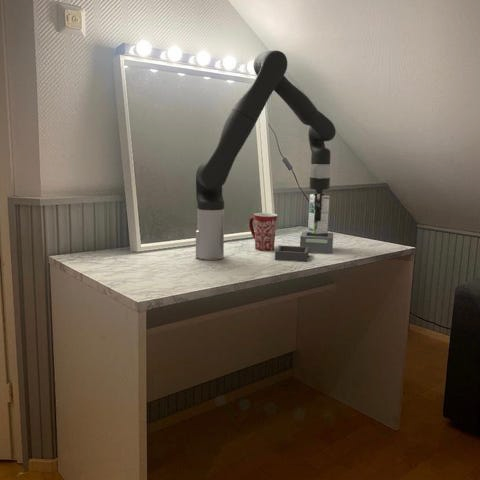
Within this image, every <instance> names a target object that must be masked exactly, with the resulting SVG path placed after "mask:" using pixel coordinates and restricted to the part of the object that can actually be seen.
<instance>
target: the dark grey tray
mask: <svg viewBox="0 0 480 480" xmlns="http://www.w3.org/2000/svg"><path fill="white" fill-rule="evenodd" d="M308 257H309V247H300V245H299V246H296V245H278V246H277V248H276V249H275V250H274V260H276V261H287V260H288V262H289V261H291V262H304V263H305V262H308Z"/></svg>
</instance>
